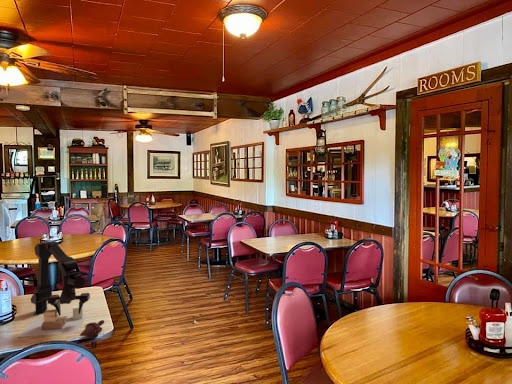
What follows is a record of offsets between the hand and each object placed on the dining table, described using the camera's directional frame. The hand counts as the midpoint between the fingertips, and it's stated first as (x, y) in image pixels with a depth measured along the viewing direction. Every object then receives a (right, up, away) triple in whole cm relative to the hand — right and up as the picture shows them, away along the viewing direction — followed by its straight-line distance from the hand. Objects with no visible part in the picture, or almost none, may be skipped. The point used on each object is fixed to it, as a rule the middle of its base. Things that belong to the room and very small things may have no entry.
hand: (69, 314), depth 194 cm
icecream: (+17, -7, -12) cm, 22 cm away
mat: (-7, -6, 0) cm, 9 cm away
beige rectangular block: (0, -5, +9) cm, 10 cm away
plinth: (-7, -6, -1) cm, 9 cm away
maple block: (-8, -2, -2) cm, 9 cm away
